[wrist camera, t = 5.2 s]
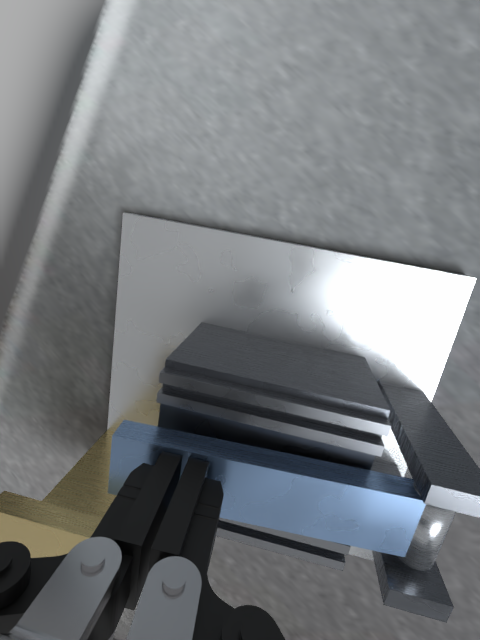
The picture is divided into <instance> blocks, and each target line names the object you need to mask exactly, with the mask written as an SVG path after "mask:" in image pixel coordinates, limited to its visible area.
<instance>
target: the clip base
mask: <svg viewBox="0 0 480 640" xmlns="http://www.w3.org/2000/svg"><path fill="white" fill-rule="evenodd" d="M475 281H476V278H474V277H471V276H468V275H464V274H458V273H453V272H447V271H442V270H437V269H431V268H426V267H420V266H415V265H410V264H404V263H399V262H393V261H388V260H383V259H377V258H372V257H366V256H361V255H356V254H350V253H345V252H339V251H334V250H329V249H323V248H318V247H312V246H307V245H302V244H296V243H291V242H285V241H280V240H275V239H269V238H264V237H258V236H253V235H248V234H242V233H237V232H231V231H226V230H221V229H215V228H210V227H204V226H199V225H194V224H188V223H183V222H177V221H172V220H167V219H161V218H156V217H150V216H145V215H140V214H134V213H123V218H122V232H121V246H120V260H119V274H118V288H117V302H116V316H115V330H114V343H113V357H112V371H111V385H110V399H109V413H108V427H107V430H109V431H113V432H115V431H116V430H117V428H118V427H119V426H120V424H121V423H122V422H123V420H129V421H134V422H138V423H143V424H148V425H153V426H158V427H163V428H167V429H172V430H177V431H182V432H187V433H192V434H197V435H201V436H206V437H211V438H216V439H221V440H226V441H230V442H235V443H240V444H245V445H250V446H255V447H260V448H264V449H269V450H274V451H279V452H284V453H289V454H293V455H298V456H303V457H308V458H313V459H318V460H323V461H327V462H332V463H337V464H342V465H347V466H352V467H356V468H361V469H366V470H371V471H376V472H381V473H386V474H390V475H395V476H400V477H404V475H405V472H406V469H407V466H408V469H409V471H410V473H411V475H412V478H413V480H414V482H415V484H416V487H417V489H418V491H419V494H420V496H421V498H422V500H423V503H424V504H427V505H431V506H435V507H439V508H443V509H447V510H451V511H455V512H459V513H463V514H467V515H471V516H475V517H479V518H480V469H479V468H478V466H477V465H476V463H475V462H474V461H473V459H472V458H471V457H470V455H469V454H468V452H467V451H466V450H465V448H464V447H463V445H462V444H461V443H460V441H459V440H458V439H457V437H456V436H455V434H454V433H453V432H452V430H451V429H450V428H449V426H448V425H447V423H446V422H445V421H444V419H443V418H442V417H441V415H440V414H439V412H438V411H437V410H436V408H435V407H434V406H433V404H432V403H431V401H432V398H433V396H434V393H435V390H436V387H437V385H438V382H439V379H440V377H441V374H442V371H443V368H444V366H445V363H446V360H447V357H448V355H449V352H450V349H451V347H452V344H453V341H454V338H455V336H456V333H457V330H458V327H459V325H460V322H461V319H462V317H463V314H464V311H465V308H466V306H467V303H468V300H469V298H470V295H471V292H472V289H473V287H474V284H475ZM216 536H219V537H222V538H226V539H229V540H233V541H237V542H240V543H244V544H247V545H251V546H255V547H258V548H262V549H265V550H269V551H273V552H276V553H280V554H283V555H287V556H290V557H294V558H298V559H301V560H305V561H308V562H312V563H316V564H319V565H323V566H326V567H330V568H334V569H337V570H341V571H343V568H344V565H345V558H344V554H346V555H348V554H351V555H354V556H358V557H362V558H365V559H369V560H373V559H374V562H375V567H376V572H377V576H378V581H379V585H380V590H381V594H382V599H383V603H384V605H386V606H390V607H393V608H397V609H400V610H404V611H407V612H411V613H414V614H418V615H421V616H425V617H428V618H432V619H436V620H439V621H443V622H447V620H448V618H449V616H450V614H451V612H452V610H453V608H454V607H453V604H452V602H451V599H450V597H449V594H448V592H447V589H446V587H445V584H444V582H443V579H442V577H441V574H440V572H439V569H438V567H437V564H436V562H434V564H433V566H432V568H431V569H430V570H427V571H420V570H416V569H414V568H412V567H410V566H408V565H407V564H405V563H404V562H403V561H402V560H400V559H399V558H398V556H396V555H391V554H387V553H382V552H377V551H373V550H368V549H363V548H359V547H354V546H350V545H345V544H340V543H336V542H331V541H326V540H322V539H317V538H313V537H308V536H303V535H299V534H294V533H289V532H285V531H280V530H275V529H271V528H266V527H262V526H257V525H252V524H248V523H243V522H238V521H234V520H229V519H224V518H220V517H219V523H218V528H217V532H216Z"/></svg>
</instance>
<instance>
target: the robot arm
mask: <svg viewBox="0 0 480 640" xmlns="http://www.w3.org/2000/svg"><path fill="white" fill-rule="evenodd" d="M182 458H183V456H182V455H178V454H173V453H169V452H165V451H162V452H161V454H160V455H159V457H158V459H157V461H156V463H155V465H150V464H146V463H142V464H141V465H140V466H138V467H137V468H136V469H134V470H133V471H131V473H130V474H129V476H128V477H127V479H126V481H125V482H124V484H123V487H121V489H120V490H119V492H118V494H117V496H116V497H115V499H114V500H113V502H112V503H111V505H110V507H109V508H108V510H107V511H106V513H105V515H104V516H103V518H102V520H101V521H100V523H99V524H98V526H97V528H96V529H95V531H94V533H93V534H92V536H91V537H90V538H89V539H86V540H84V541H82V542H80V543H78V544H77V545H76V546H74V547H73V548H72V549H71V551H70V552H69V553H67V554H64V555H60V556H53V557H39V558H31V554H30V551H29V549H28V548H27V547H26V546H25V545H24V544H22V543H19V542H14V541H6V542H1V543H0V640H113V638H114V634H115V629H116V627H117V624H118V622H119V619H120V617H121V615H122V612H123V610H124V608H128V609H131V610H135V607H136V605H137V602H138V600H139V597H140V594H141V592H142V594H141V597H140V600H139V603H138V606H137V609H136V612H135V615H134V618H133V621H132V624H131V627H130V630H129V633H128V636H127V639H126V640H285V638H284V637H283V635H282V633H281V631H280V629H279V628H278V626H277V624H276V622H275V621H274V619H273V618H272V617H271V616H270V615H269V614H268V613H267V612H266V611H264V610H263V609H261V608H259V607H256V606H252V605H244V606H240V607H237V608H236V609H234V608H232V607H231V606H229V605H228V604H227V603H225V602H224V601H222V600H221V599H220V598H219V597H218V596H217V595H216V594H215V593H214V592H213V590H212V588H211V586H210V584H209V582H208V578H207V571H208V567H209V563H210V558H211V554H212V550H213V545H214V541H215V537H216V532H217V528H218V523H219V517H220V512H221V507H222V502H223V497H224V493H223V489H222V485H221V481H217V480H213V479H209V478H207V474H208V469H209V463H210V462H208V461H203V460H199V459H195V458H191V457H189V459H188V461H187V463H186V465H185V468H184V470H183V473H182V475H181V477H180V472H181V465H182ZM179 478H180V480H179ZM144 584H145V585H144ZM143 587H144V588H143ZM142 589H143V591H142Z"/></svg>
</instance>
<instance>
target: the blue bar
mask: <svg viewBox="0 0 480 640" xmlns="http://www.w3.org/2000/svg"><path fill="white" fill-rule="evenodd" d="M162 451H165V452H169V453H173V454H178V455H182V456H183V458H182V465H181V472H180V477H181V475H182V473H183V470H184V468H185V465H186V463H187V461H188V459H189V457H191V458H195V459H199V460H203V461H208V462H210V463H209V469H208V474H207V478H209V479H213V480H217V481H221V485H222V489H223V493H224V497H223V502H222V507H221V512H220V518H224V519H229V520H234V521H238V522H243V523H248V524H252V525H257V526H262V527H266V528H271V529H275V530H280V531H285V532H289V533H294V534H299V535H303V536H308V537H313V538H317V539H322V540H326V541H331V542H336V543H340V544H345V545H350V546H354V547H359V548H363V549H368V550H373V551H377V552H382V553H387V554H391V555H396V556H398V558H399V559H400V560H402V561H403V562H404V563H405V564H407V565H408V566H410V567H412V568H414V569H416V570H420V571H427V570H430V569H431V568H432V566H433V564H434V562H435V560H436V557H437V555H438V553H439V550H440V548H441V546H442V543H443V541H444V539H445V537H446V534H447V532H448V530H449V527H450V525H451V523H452V520H453V518H454V516H455V513H456V512H455V511H451V510H447V509H443V508H439V507H435V506H431V505H427V504H424V503H423V500H422V498H421V496H420V494H419V491H418V489H417V487H416V484H415V482H414V480H413V479H410V478H405V477H400V476H395V475H390V474H386V473H381V472H376V471H371V470H366V469H361V468H356V467H352V466H347V465H342V464H337V463H332V462H327V461H323V460H318V459H313V458H308V457H303V456H298V455H293V454H289V453H284V452H279V451H274V450H269V449H264V448H260V447H255V446H250V445H245V444H240V443H235V442H230V441H226V440H221V439H216V438H211V437H206V436H201V435H197V434H192V433H187V432H182V431H177V430H172V429H167V428H163V427H158V426H153V425H148V424H143V423H138V422H134V421H129V420H123V422H122V423H121V424H120V426H119V427H118V428H117V430H116V431H115V432H114V434H113V435H112V443H111V456H110V469H109V482H108V493H109V494H113V495H117V494H118V492H119V490H120V489H121V487H123V484H124V482H125V481H126V479H127V477H128V476H129V474H130V473H131V471H133V470H134V469H136V468H137V467H138V466H140V465H141V464H142V463H146V464H150V465H155V463H156V461H157V459H158V457H159V455H160V454H161V452H162ZM179 480H180V478H179Z"/></svg>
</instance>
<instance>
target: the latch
mask: <svg viewBox="0 0 480 640" xmlns="http://www.w3.org/2000/svg"><path fill="white" fill-rule="evenodd" d="M113 434H114V432H113V431H109V430H107V431H106V432H105V433H104V434H103V435H102V436H101V437H100V439H99V440H98V441H97V442H96V443H95V444H94V445H93V446H92V447H91V448H90V449H89V450H88V452H87V453H86V454H85V455H84V456H83V457H82V458H81V459H80V460H79V461H78V462H77V464H76V465H75V466H74V467H73V468H72V469H71V470H70V471H69V472H68V473H67V474H66V475H65V477H64V478H63V479H62V480H61V481H60V482H59V483H58V484H57V485H56V486H55V487H54V489H53V490H52V491H51V492H50V493H49V494H48V495H47V496H46V497H45V498H44V499H43V501H39V500H35V499H32V498H28V497H25V496H21V495H18V494H14V493H11V492H7V491H3V492H2V493H1V494H0V543H1V542H6V541H14V542H19V543H22V544H24V545H25V546H26V547H27V548H28V549H29V551H30V554H31V558H39V557H53V556H60V555H64V554H67V553H69V552H70V551H71V549H72V548H73V547H74V546H76V545H77V544H78V543H80V542H82V541H84V540H86V539H89V538H90V537H91V536H92V534H93V533H94V531H95V529H96V528H97V526H98V524H99V523H100V521H101V520H102V518H103V516H104V515H105V513H106V511H107V510H108V508H109V507H110V505H111V503H112V502H113V500H114V499H115V497H116V496H117V495H113V494H109V493H108V482H109V469H110V456H111V443H112V435H113Z"/></svg>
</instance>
